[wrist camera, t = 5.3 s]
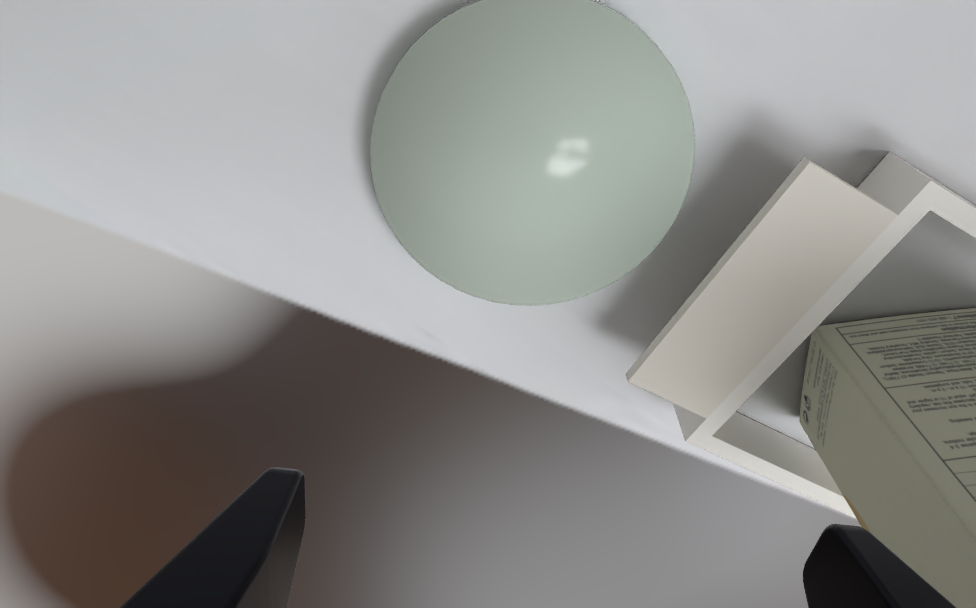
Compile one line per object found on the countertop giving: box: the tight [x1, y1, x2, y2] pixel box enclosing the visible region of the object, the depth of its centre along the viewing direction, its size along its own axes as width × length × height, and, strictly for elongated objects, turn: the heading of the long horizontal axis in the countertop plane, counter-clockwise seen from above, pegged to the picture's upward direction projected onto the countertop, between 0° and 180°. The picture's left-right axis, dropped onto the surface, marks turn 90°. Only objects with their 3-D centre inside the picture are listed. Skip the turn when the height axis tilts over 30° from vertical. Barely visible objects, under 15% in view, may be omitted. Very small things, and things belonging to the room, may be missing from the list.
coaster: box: [370, 0, 695, 305], centre depth 19 cm, size 9×9×1 cm
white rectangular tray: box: [626, 152, 976, 519], centre depth 22 cm, size 18×10×2 cm, turn 62°
